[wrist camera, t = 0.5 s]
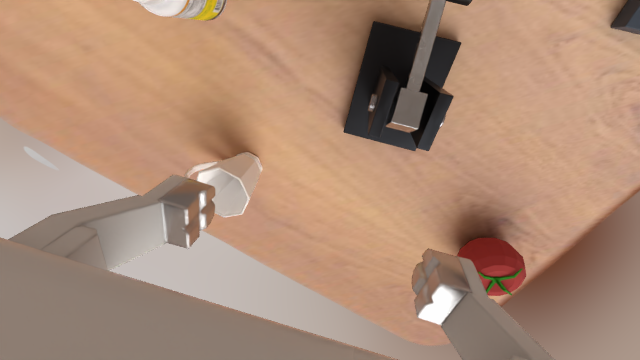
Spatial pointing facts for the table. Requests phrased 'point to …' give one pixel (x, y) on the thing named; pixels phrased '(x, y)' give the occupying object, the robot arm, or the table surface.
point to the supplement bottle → (185, 8)
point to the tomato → (495, 264)
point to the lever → (417, 73)
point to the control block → (629, 18)
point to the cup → (230, 181)
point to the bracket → (389, 76)
